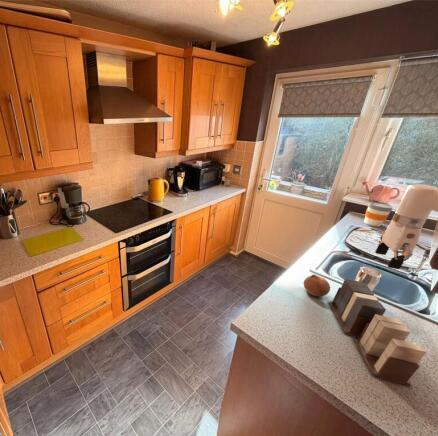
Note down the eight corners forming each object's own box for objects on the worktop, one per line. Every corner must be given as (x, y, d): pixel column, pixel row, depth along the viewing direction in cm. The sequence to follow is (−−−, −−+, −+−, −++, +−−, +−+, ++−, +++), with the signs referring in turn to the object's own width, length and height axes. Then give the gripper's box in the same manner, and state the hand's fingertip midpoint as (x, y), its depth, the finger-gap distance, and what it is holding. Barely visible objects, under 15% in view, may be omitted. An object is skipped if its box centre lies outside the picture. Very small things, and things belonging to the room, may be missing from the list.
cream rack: (384, 347, 80) (403, 318, 74) (409, 385, 69) (434, 355, 63) (353, 339, 83) (369, 311, 77) (372, 375, 72) (393, 346, 66)
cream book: (361, 321, 89) (375, 296, 83) (364, 326, 87) (379, 300, 81) (341, 317, 91) (353, 292, 85) (343, 322, 89) (357, 296, 83)
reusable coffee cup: (385, 229, 161) (395, 209, 154) (362, 224, 167) (371, 205, 161) (381, 222, 170) (390, 203, 164) (359, 218, 177) (367, 200, 170)
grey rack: (353, 308, 96) (367, 281, 90) (374, 340, 83) (392, 312, 77) (328, 302, 99) (340, 277, 93) (344, 333, 85) (359, 305, 79)
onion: (302, 293, 108) (299, 272, 108) (325, 292, 105) (322, 270, 105) (310, 301, 99) (306, 278, 99) (336, 300, 96) (332, 276, 96)
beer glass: (365, 307, 97) (381, 279, 90) (345, 298, 101) (358, 271, 95) (368, 299, 101) (383, 272, 94) (348, 291, 105) (361, 264, 99)
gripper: (440, 233, 71) (413, 276, 79) (407, 212, 86) (387, 250, 93) (408, 228, 74) (385, 271, 81) (382, 209, 89) (364, 247, 96)
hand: (386, 260), depth 87 cm, fingers open, 9 cm apart
